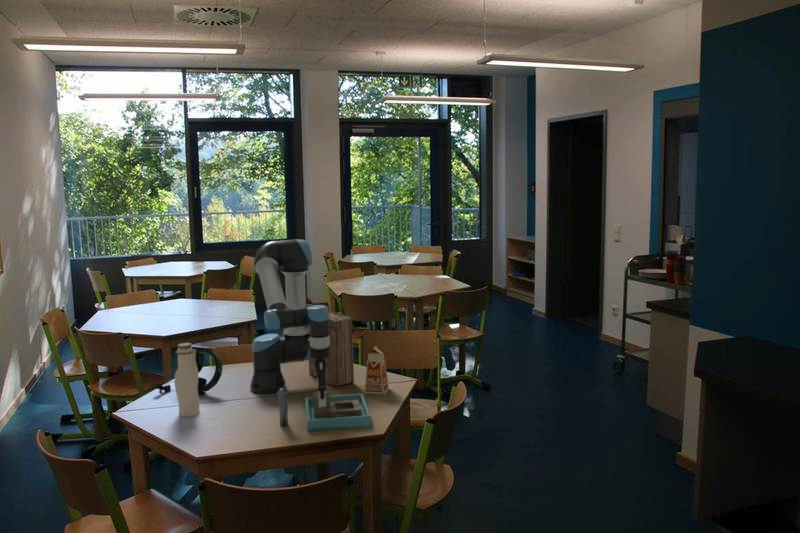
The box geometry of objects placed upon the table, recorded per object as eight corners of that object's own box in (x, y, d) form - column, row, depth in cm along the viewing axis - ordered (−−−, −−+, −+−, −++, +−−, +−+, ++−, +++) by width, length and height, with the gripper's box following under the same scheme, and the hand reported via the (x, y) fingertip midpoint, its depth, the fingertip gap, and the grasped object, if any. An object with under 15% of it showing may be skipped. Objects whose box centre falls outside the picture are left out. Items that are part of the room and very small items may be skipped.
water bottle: (180, 408, 267) (176, 341, 263) (203, 407, 268) (199, 340, 264) (174, 418, 257) (169, 347, 253) (198, 416, 258) (193, 346, 254)
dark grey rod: (278, 423, 250) (276, 387, 248) (289, 422, 250) (287, 386, 248) (278, 426, 246) (276, 390, 244) (289, 426, 246) (287, 389, 244)
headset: (178, 409, 291) (230, 381, 285) (155, 406, 279) (210, 377, 273) (170, 372, 299) (221, 344, 292) (148, 367, 287) (201, 338, 281)
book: (354, 383, 295) (352, 317, 290) (336, 388, 289) (333, 320, 285) (326, 370, 315) (324, 308, 311) (309, 374, 310) (306, 311, 306)
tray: (305, 407, 266) (305, 397, 266) (362, 402, 270) (362, 393, 269) (307, 431, 241) (307, 421, 240) (370, 426, 244) (370, 415, 244)
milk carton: (384, 394, 279) (383, 348, 277) (363, 393, 281) (362, 347, 278) (389, 387, 288) (388, 342, 285) (368, 386, 290) (367, 342, 287)
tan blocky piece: (313, 410, 260) (313, 390, 258) (358, 406, 262) (357, 387, 261) (315, 421, 248) (314, 400, 247) (361, 417, 251) (361, 397, 250)
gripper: (308, 338, 262) (310, 390, 265) (310, 356, 238) (312, 412, 241) (327, 337, 263) (329, 388, 267) (331, 355, 239) (333, 411, 242)
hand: (321, 400), depth 254 cm, fingers open, 13 cm apart
